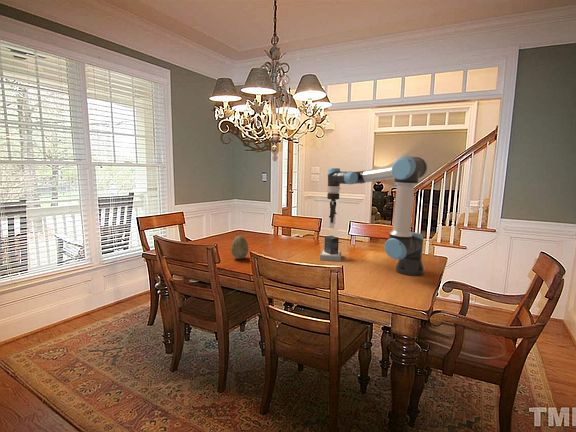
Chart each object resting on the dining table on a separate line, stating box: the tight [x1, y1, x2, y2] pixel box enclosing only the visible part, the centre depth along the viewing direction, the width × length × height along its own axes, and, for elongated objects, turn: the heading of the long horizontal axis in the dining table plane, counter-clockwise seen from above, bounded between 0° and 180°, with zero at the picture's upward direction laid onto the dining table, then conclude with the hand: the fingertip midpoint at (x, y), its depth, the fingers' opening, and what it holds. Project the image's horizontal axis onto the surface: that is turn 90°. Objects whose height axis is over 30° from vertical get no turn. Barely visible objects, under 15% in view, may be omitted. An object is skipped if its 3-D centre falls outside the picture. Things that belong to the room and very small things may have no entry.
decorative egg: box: [230, 235, 249, 260], centre depth 209 cm, size 11×11×15 cm
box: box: [323, 235, 340, 255], centre depth 215 cm, size 8×6×11 cm
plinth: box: [319, 249, 342, 262], centre depth 216 cm, size 13×13×3 cm
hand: (332, 226), depth 213 cm, fingers open, 13 cm apart
